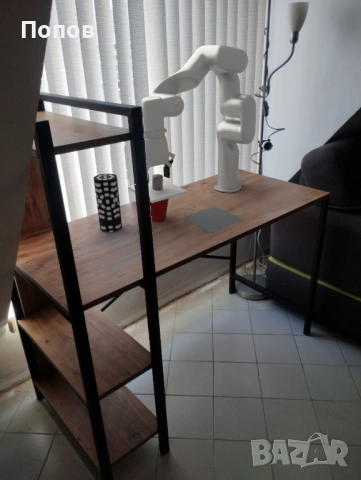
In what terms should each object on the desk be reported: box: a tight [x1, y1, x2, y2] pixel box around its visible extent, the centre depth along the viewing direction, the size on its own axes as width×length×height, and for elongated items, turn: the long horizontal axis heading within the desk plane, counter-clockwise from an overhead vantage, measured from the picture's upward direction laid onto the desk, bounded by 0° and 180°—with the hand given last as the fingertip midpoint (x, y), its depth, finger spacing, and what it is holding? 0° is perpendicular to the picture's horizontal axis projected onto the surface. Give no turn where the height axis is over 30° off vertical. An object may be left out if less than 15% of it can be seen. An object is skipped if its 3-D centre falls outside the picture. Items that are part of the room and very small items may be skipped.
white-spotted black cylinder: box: [93, 173, 123, 233], centre depth 142 cm, size 8×8×20 cm
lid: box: [127, 173, 188, 203], centre depth 146 cm, size 16×16×6 cm
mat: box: [180, 206, 246, 233], centre depth 151 cm, size 18×18×1 cm
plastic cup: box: [150, 198, 170, 223], centre depth 150 cm, size 11×11×12 cm
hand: (156, 180), depth 145 cm, fingers open, 9 cm apart
